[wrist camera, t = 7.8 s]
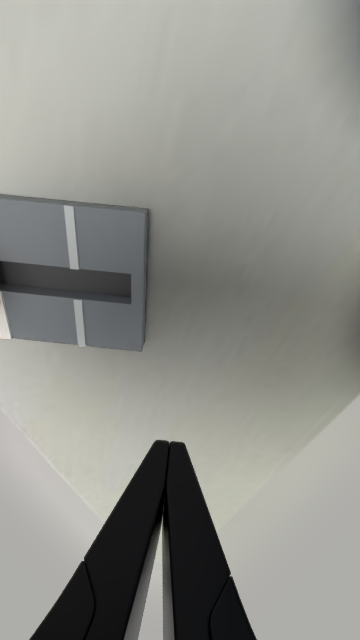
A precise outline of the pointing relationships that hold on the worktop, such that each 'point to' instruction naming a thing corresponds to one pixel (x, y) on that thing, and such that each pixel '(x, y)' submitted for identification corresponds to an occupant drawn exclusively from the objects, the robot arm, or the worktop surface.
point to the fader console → (73, 272)
